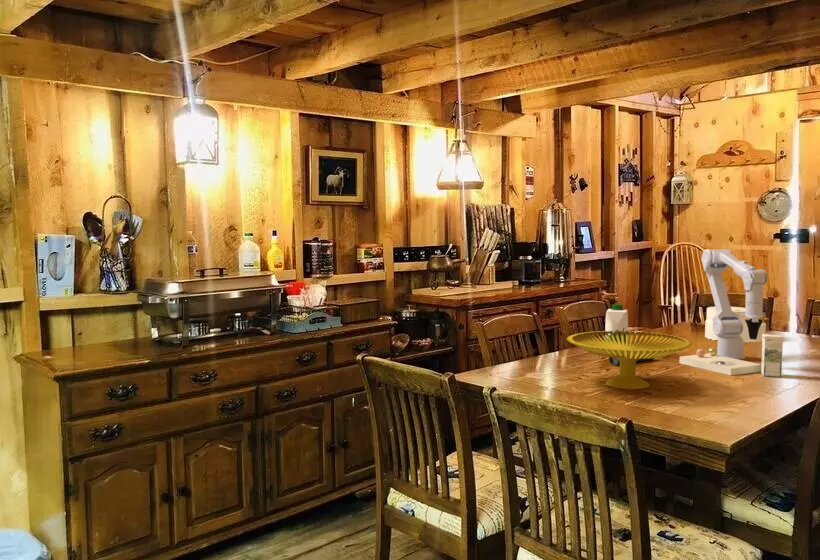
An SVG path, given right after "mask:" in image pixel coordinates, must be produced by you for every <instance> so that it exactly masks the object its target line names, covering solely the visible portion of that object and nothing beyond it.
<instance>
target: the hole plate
mask: <svg viewBox="0 0 820 560" xmlns="http://www.w3.org/2000/svg"><path fill="white" fill-rule="evenodd" d="M719 361H723V362H725V364H717V363H718V362H719ZM679 364H682V365H686V366H690V367H695V368H698V369H702V370H707V371H710V372H715V373H717V374H723V375H728V376H737V375H745V374H752V373H760V372H761V363H756V362H752V361H746V360H744V359H740V360H738V359H734V358H729V357H724V356H719V355H717V354H716V355H714V356H711V355H710V354H709V353H708V352H707V353H705V355H704V356H703V357H699V356H697V354H692V355H691V354H690V355H683V356H682V355H681V356H679Z"/></svg>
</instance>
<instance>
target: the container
mask: <svg viewBox="0 0 820 560" xmlns="http://www.w3.org/2000/svg"><path fill="white" fill-rule="evenodd" d="M730 307H731V310H732V311H733V312H735V313H736V314H738V315H739V318H740V320H741V321H742V323H743V327H744V328H743V332H742V333H741V334H740V337H741V338H742V339H743V341H744V343H749V342H758V343H762V334H767V333H766V330H767V328H766V327H767V323H766V322H764V321H762V324H761V326H760V328H759V331H758V335H757V339H750V337H749V332H748V327H747V324H746V321H745V320H746V319H747V320H750V318H749V317H745V316H742V314H745V307H740V306H730ZM716 314H717V310H716V307H715V306H708V307H707V308H706V319H705V321H704V323H705V324H704V325H705V327H704V338H705V337H706V338H708V339H707V340H709V339H712V340H711V341H714V340H718V336H716V334H715V333H714V331H713V321H712V319H713V317H714V316H715V315H716ZM706 338H705V339H706Z"/></svg>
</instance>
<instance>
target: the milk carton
mask: <svg viewBox="0 0 820 560" xmlns="http://www.w3.org/2000/svg"><path fill="white" fill-rule="evenodd" d="M611 306H612V307H611V308H608V309H607V310H606V313H605V319H604V320H605V326H604V327H605V329H604V331H607V332H608V331H613V335H614V338H615V340H616V342H617V343H618V341H617V338H616V335H615V333H614V331H618V335H619V340H620V342H621V344H622V340H621V335H620V332H619V331H624V343H625V344H626V334H625V331H629V313H628V309H624V308H623V304H621V303H618V304H617V303H614V304H612V305H611ZM608 335H609V337H610V339H611V341H612V342H613V339H612V337H611V335H610V333H609V332H608ZM604 336H605V338H606V339H607V341H608V342H609V340H608V338H607V336H606V335H605V334H604ZM613 343H614V342H613Z"/></svg>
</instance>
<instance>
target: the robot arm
mask: <svg viewBox="0 0 820 560" xmlns="http://www.w3.org/2000/svg"><path fill="white" fill-rule="evenodd" d="M700 260H701V263H702V266H703V271H704V272H705V273H706V278H707V281H708V284H709V289H710V292H711V295H712V299H713V303H714V307H716V310H717V314H716V315H715V316H714V317H713V319H712V321H713V331H714V333H715V334H716V336H718V341H717V348H716V350H717V354H716V355H719V356H724V357H729V358H734V359H738V360H745V359H746V357H745V353H744V352H745V342H744V341H743V339H742V338H741V337H740V334H741V333H742V332H743V328H744V327H743V323H742V321H741V320H740V318H739V315H738V314H736V313H735V312H733V311H732V310H731V307H732V306H731V303H730V300H729V296H728V294H727V290H726V286H725V282H724V280H723V276H722V274H723V273H724V272H726V270H727V269H728V267H730V268H731V269H733V273H734V274H735V275H736V276H738V277H739V278H741V279H742V283H743V286H744V287H743V289H744V290H745V303H744V304H745V305H744V306H745V307H744V308H745V314H742V316H745V317H749V318H750V320H747V319H746V320H745V321H746V324H747V327H748V332H749V337H750V339H757V335H758V331H759V328H760V326H761V324H762V322H763V320H762V318H763V317H764V314H763V312H764V311H763V307H764V306H763V303H764V286H765V285H766V283H767V281H768V275H767V272H766V271H765V270H764V269H761V268H760V269H757V268H756V267H755V266H753V265H751V264H750V263H749V261H747V260H739V259H738V258H737V257H736V256H735V255H733V251H732V250H730V248H729V249H728V248H722V249H721V248H719V249H718V248H717V249H716V248H715V249H714V248H713V249H712V248H706V249H704V250H703V251H702V254H701V259H700Z"/></svg>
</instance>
